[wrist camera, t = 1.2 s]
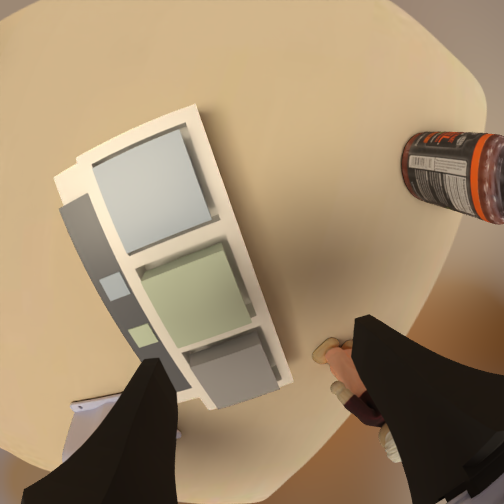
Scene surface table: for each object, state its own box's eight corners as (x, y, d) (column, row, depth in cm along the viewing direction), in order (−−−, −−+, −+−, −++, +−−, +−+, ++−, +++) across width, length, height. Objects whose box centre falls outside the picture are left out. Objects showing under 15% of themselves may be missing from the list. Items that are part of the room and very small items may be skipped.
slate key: (132, 245, 15) (126, 253, 14) (100, 167, 13) (92, 168, 12) (210, 214, 15) (211, 219, 14) (180, 131, 13) (179, 129, 12)
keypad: (178, 395, 22) (178, 418, 19) (60, 176, 15) (39, 179, 12) (284, 360, 23) (294, 381, 20) (196, 112, 15) (195, 103, 13)
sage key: (178, 335, 17) (177, 348, 16) (144, 271, 15) (140, 281, 14) (248, 310, 17) (252, 322, 16) (221, 242, 16) (223, 250, 14)
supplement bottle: (434, 125, 18) (543, 131, 8) (448, 187, 21) (548, 216, 10) (389, 141, 18) (516, 149, 8) (407, 210, 20) (519, 254, 10)
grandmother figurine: (297, 369, 23) (354, 486, 12) (308, 335, 22) (383, 456, 10) (365, 364, 25) (432, 453, 13) (379, 333, 24) (460, 421, 12)
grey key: (216, 396, 19) (218, 409, 18) (189, 354, 18) (189, 367, 16) (275, 376, 20) (279, 388, 18) (256, 330, 18) (260, 343, 17)
